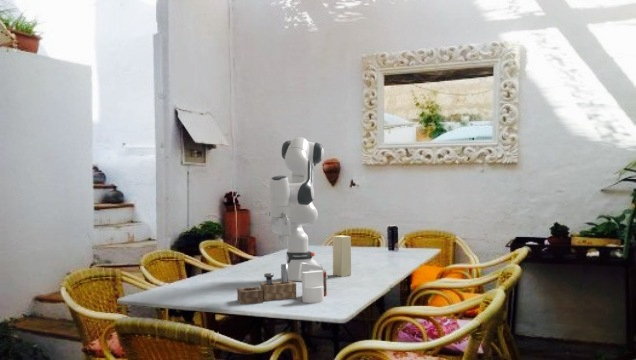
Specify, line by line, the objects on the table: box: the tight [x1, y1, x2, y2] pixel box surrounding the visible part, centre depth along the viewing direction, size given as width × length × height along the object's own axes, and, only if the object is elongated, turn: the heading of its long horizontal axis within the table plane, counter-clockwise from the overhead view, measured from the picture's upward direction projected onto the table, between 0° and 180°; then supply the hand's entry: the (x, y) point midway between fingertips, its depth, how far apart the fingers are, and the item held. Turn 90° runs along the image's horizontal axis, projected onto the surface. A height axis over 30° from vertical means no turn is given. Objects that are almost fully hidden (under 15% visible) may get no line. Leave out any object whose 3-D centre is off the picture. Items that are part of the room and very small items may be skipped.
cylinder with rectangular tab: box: [301, 270, 325, 304], centre depth 220 cm, size 9×9×12 cm
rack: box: [236, 286, 264, 305], centre depth 220 cm, size 9×9×5 cm
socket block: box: [259, 280, 297, 301], centre depth 227 cm, size 14×8×6 cm, turn 108°
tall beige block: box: [332, 234, 352, 277], centre depth 282 cm, size 8×7×21 cm
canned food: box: [309, 268, 328, 297], centre depth 230 cm, size 8×8×11 cm
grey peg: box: [280, 263, 289, 284], centre depth 228 cm, size 3×3×14 cm
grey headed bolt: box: [263, 272, 274, 285], centre depth 226 cm, size 4×4×8 cm
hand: (281, 244), depth 228 cm, fingers closed
